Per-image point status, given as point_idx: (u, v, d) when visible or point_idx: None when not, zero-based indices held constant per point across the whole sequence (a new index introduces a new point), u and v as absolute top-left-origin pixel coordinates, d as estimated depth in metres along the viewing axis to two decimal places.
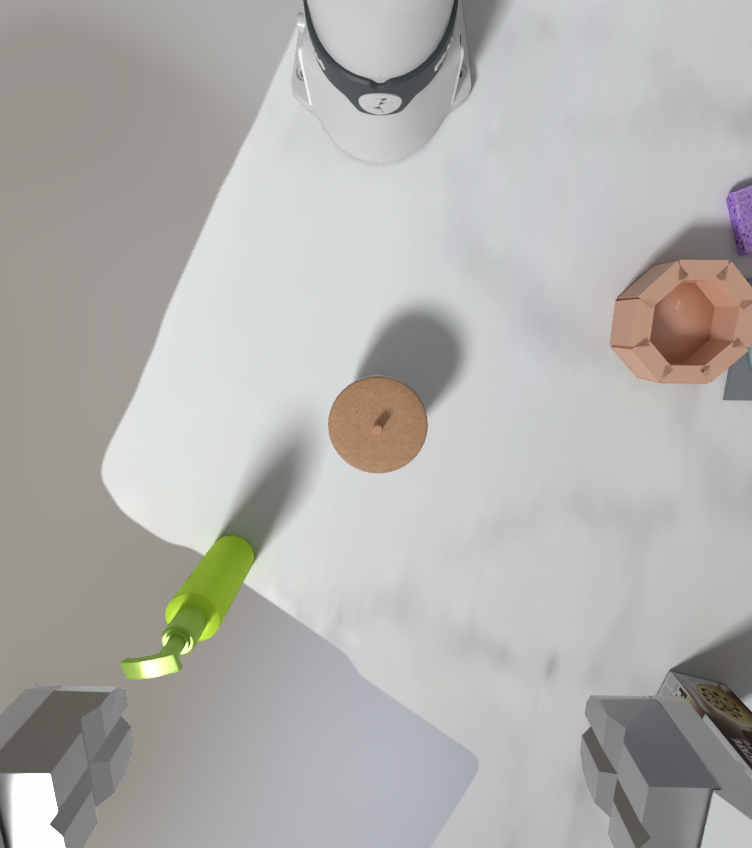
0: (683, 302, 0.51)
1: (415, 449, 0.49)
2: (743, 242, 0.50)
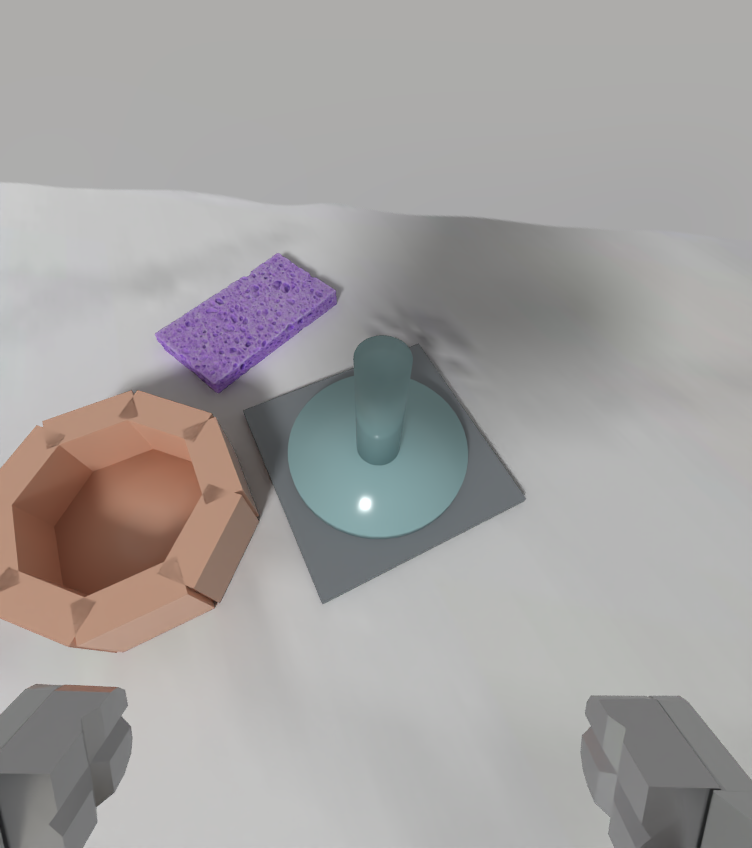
0: (144, 482, 0.28)
1: None
2: (203, 374, 0.32)
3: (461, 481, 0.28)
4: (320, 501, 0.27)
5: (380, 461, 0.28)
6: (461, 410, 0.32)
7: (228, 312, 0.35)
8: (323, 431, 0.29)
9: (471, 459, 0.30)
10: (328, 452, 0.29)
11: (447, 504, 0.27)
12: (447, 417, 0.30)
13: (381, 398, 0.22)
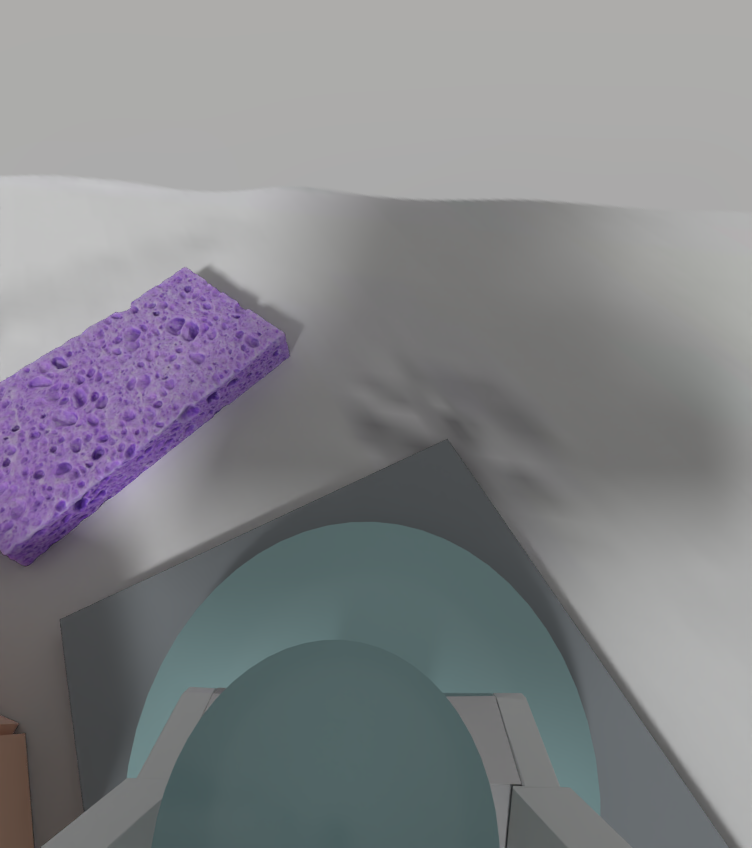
0: None
1: None
2: None
3: None
4: None
5: None
6: (554, 605, 0.14)
7: (71, 385, 0.18)
8: None
9: (597, 757, 0.12)
10: None
11: None
12: (531, 646, 0.12)
13: None
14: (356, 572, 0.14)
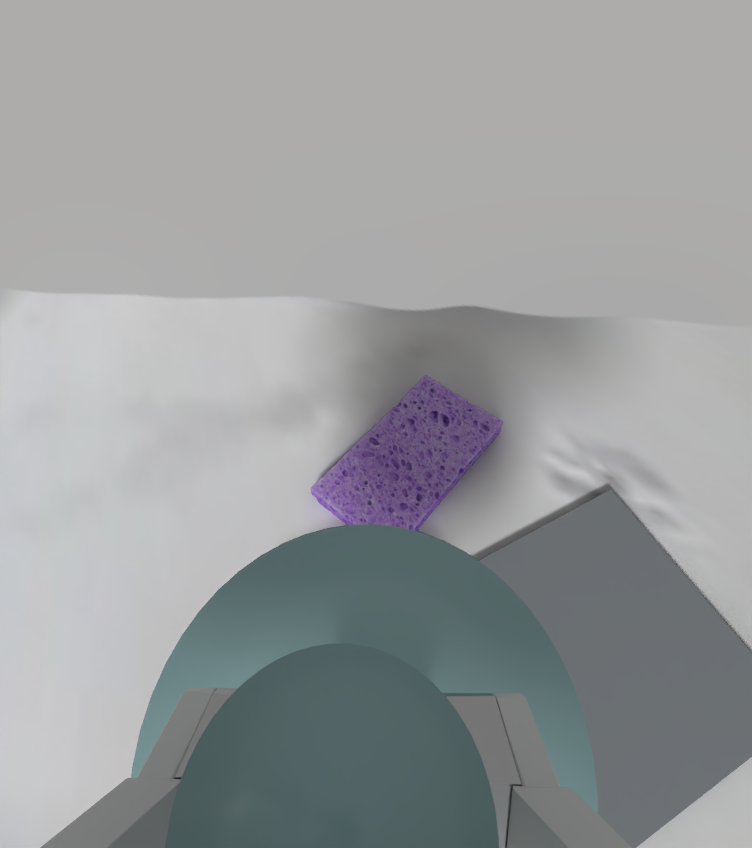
0: None
1: None
2: None
3: None
4: None
5: None
6: (687, 582, 0.26)
7: (387, 456, 0.31)
8: None
9: (719, 655, 0.24)
10: None
11: None
12: (530, 647, 0.13)
13: None
14: (357, 574, 0.14)
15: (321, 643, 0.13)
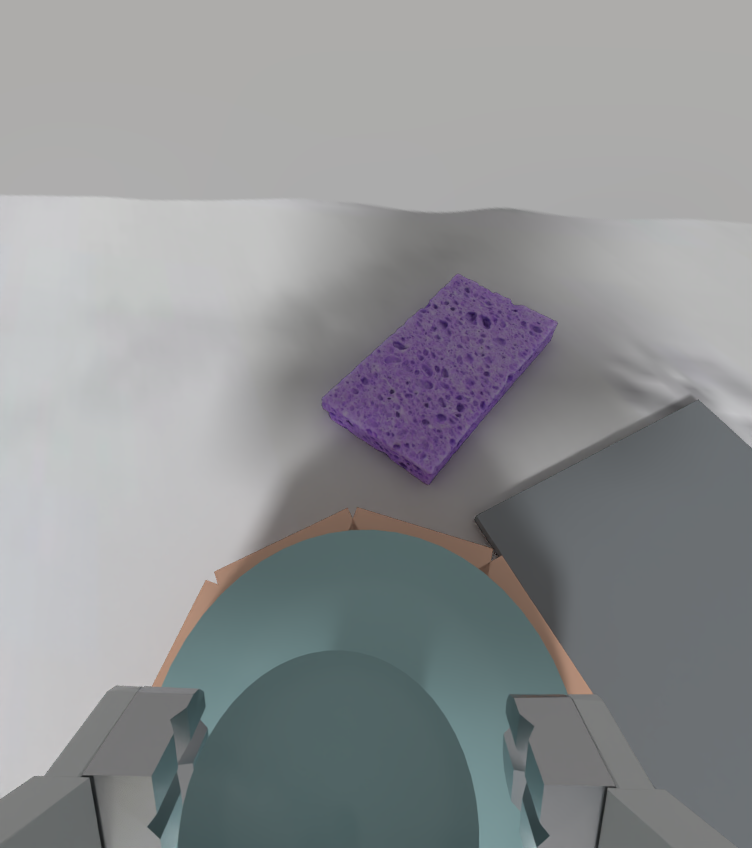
0: None
1: None
2: (407, 459, 0.21)
3: None
4: None
5: None
6: None
7: (417, 361, 0.24)
8: (232, 699, 0.12)
9: None
10: None
11: None
12: (523, 650, 0.13)
13: None
14: (356, 578, 0.14)
15: (321, 645, 0.13)
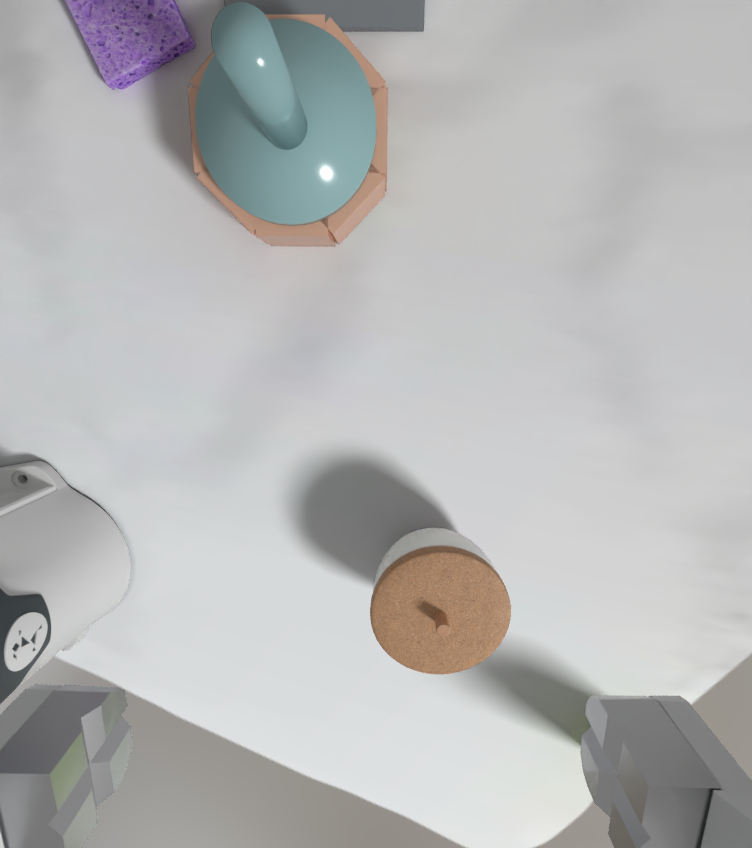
0: None
1: (477, 568, 0.33)
2: (173, 46, 0.32)
3: (355, 61, 0.28)
4: (316, 207, 0.30)
5: (304, 130, 0.28)
6: None
7: None
8: (249, 172, 0.29)
9: None
10: (272, 178, 0.29)
11: (369, 90, 0.28)
12: (285, 30, 0.27)
13: (277, 73, 0.21)
14: (223, 94, 0.28)
15: (245, 126, 0.29)
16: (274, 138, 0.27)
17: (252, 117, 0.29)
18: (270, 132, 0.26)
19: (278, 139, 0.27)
